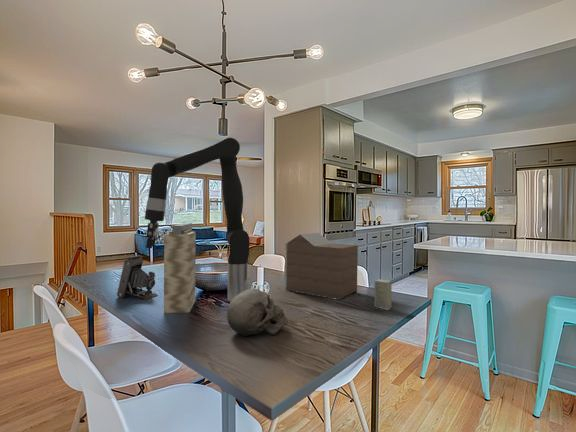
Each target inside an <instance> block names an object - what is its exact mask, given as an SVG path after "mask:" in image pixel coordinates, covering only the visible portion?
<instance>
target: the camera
mask: <svg viewBox="0 0 576 432" xmlns="http://www.w3.org/2000/svg"><path fill="white" fill-rule="evenodd" d="M143 262H144V259H143V257H142V255H141V254H138V255H132V256H128V257H127V258H126V259H125V260H124V261H123V265H122V270H121V274H120V277H119V278H120V279H119V284H118V288H117V292H116V295H117V298H118V299H124V298H126V297H128V296H131V295H132V296H135V297H139V298H142V299H144V300H147V301H148V300H152V299H154V298H156V297H158V296H159V295H158V294H156V293H154V292H153V291H152V289H153V288H154V286H155V285H156V280H155V277H156V274H155V272H154V271H148V272H146V271H144V270H143V269H142V266H143ZM143 288H145V289H146V290H144V289H143Z"/></svg>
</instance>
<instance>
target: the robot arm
mask: <svg viewBox="0 0 576 432" xmlns="http://www.w3.org/2000/svg"><path fill="white" fill-rule="evenodd" d="M240 146H241V145H240V143H239V141H238V140H237V139H235V138H234V137H225V138H223V139H221V140H220V141H218V142H217V143H214V144H213V145H209V146H208V147H205V148H202V149H199V150H195V151H192V152H189V153H186V154H183V155H180V156H177V157H175V158H173V159H171V160H169V161H165V162H161V161H160V162H155V164H153V165H152V168H151V171H150V172H151V176H150V185H149V189H148V198H147V200H146V206H145V207H146V208H145V214H144V219H145V220H146V221H149V222H148V223H147V229H146V235H145V237H146V245H145V248H146V249H152V248H153V247H155V246H156V238H157V236H158V234H159V233H158V232H159V229H160V223H159V222H164V220H165V214H166V213H165V212H166V206H167V205H166V203H167V202H166V201H167V194H168V184H169V183H168V182H169V179H170V178H172V177H174V176H177V175H180V174H181V173H182V174H183V173H186V172H188V171H192V170H194V169H196V168H200V167H202V166H203V165H205V164H206V165H207V164H208V163H210V162H211V163H212V161H213V162H214V161H217V160H219V165H220V169H221V188H222V191H221V192H222V198H223V199H222V200H223V206H224V212H225V218H226V241H227V243H228V245H229V253H228V254H229V255H228V257H227V301H228V302H231V300H232V299H233V298H234V297H235V296H237V295H238V294H240V293H242V292H243V291H245V290H248V289H250V288H249V287H250V283H249V282H250V281H249V276H248V273H249V272H248V270H249V269H248V267H249V266H248V263H249V256H250V235H249V232H247V231H246V230H245V229H244V226H243V225H244V224H243V209H244V193H243V192H244V191H243V186H242V185H243V184H242V182H241V178H240V176H239V173H238V170H237V167H238V166H237V156H238V154H239V152H240V150H241V147H240Z"/></svg>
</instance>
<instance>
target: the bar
mask: <svg viewBox="0 0 576 432" xmlns="http://www.w3.org/2000/svg"><path fill="white" fill-rule="evenodd" d="M192 224H193V223H191V222H183V223H178V224H174V225H172V231H173V234H183V232H184V231H187V230H189V229H193V225H192Z"/></svg>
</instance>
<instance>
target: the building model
mask: <svg viewBox="0 0 576 432" xmlns="http://www.w3.org/2000/svg"><path fill="white" fill-rule="evenodd" d="M284 246H285V248H284V249H285V288H284V290H285V289H286V290H285V291H289V290H292V291H291V292H294V291H298V292H297V293H299V292H303V293H302V294H304V293H309V294H308V295H310V294H314V295H313V296H315V295H320V296H326V297H330V298H336V299H342V298H345V297H346V296H348V295H351V294H352V293H356V292H355V291H357V292H358V258H359V257H358V256H359V255H358V253H359V251H358V249H359V247H358V244H345V243H336V242H335V243H333V242H331V241H329V240H328V239H327V238H326V237H324V236H323V235H322V234H321V233H319V232H314V233H303V234H302V233H301V234H298V235H297V236H295V237H293V239H291V240H289V241H288V242H285V243H284ZM320 296H319V297H320ZM330 298H329V299H330ZM336 299H335V300H336Z"/></svg>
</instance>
